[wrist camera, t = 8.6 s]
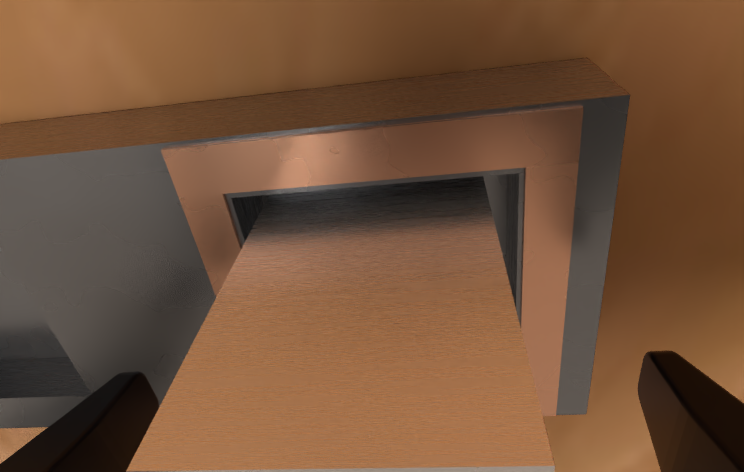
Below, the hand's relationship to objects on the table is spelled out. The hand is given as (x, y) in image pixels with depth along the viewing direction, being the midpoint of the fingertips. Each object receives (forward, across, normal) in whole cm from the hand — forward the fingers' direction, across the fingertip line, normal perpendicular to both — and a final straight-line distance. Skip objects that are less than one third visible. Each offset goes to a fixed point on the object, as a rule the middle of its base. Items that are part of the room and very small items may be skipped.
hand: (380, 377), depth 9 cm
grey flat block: (+5, +6, 0) cm, 7 cm away
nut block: (+4, 0, 0) cm, 4 cm away
